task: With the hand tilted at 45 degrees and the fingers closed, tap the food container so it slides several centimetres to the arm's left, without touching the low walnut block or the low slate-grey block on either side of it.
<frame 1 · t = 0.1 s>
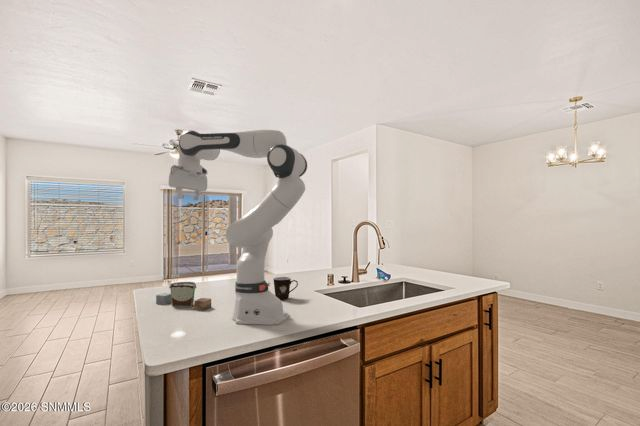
hand: (188, 199, 134), 48 cm above the counter, tool pointing down, fingers open, 8 cm apart
slate block: (164, 302, 145), on the counter
coffee mug: (285, 299, 151), on the counter
food container: (185, 304, 141), on the counter
walnut block: (202, 308, 135), on the counter
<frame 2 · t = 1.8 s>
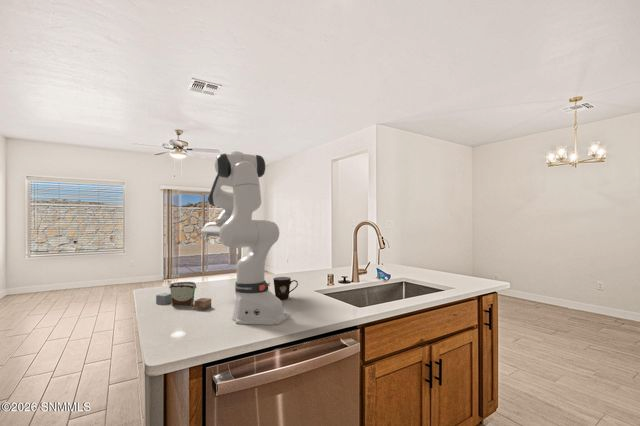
hand: (212, 241, 161), 28 cm above the counter, tool tilted 45°, fingers open, 8 cm apart
nothing on the counter moved.
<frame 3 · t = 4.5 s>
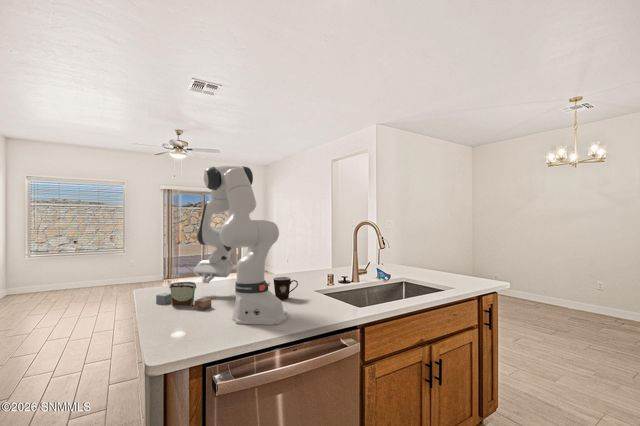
hand: (205, 282, 155), 7 cm above the counter, tool tilted 45°, fingers closed
nothing on the counter moved.
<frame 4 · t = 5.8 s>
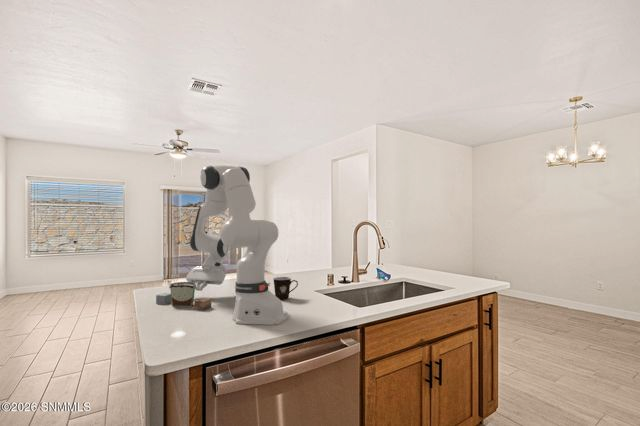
hand: (198, 290, 149), 5 cm above the counter, tool tilted 45°, fingers closed
nothing on the counter moved.
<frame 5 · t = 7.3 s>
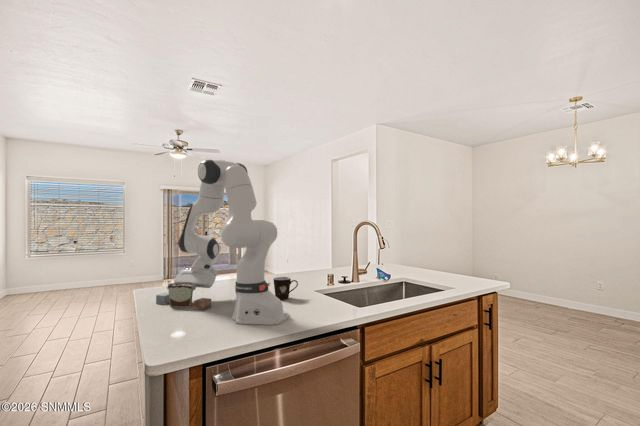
hand: (186, 293, 142), 5 cm above the counter, tool tilted 45°, fingers closed, pressing on food container
food container: (183, 305, 140), on the counter, touching gripper
everything else where it was.
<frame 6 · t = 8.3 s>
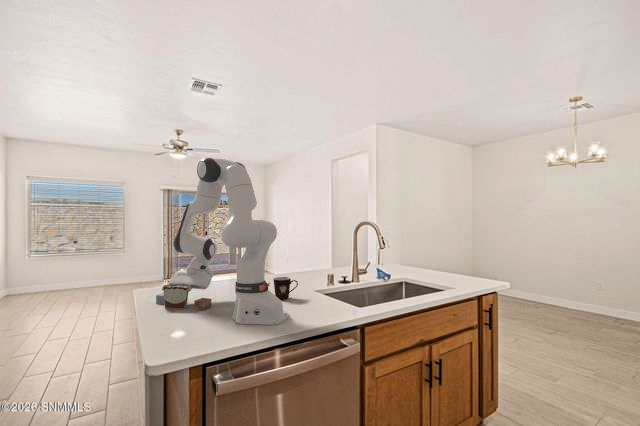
hand: (181, 295, 139), 5 cm above the counter, tool tilted 45°, fingers closed
food container: (178, 307, 137), on the counter, touching gripper
everything else where it was.
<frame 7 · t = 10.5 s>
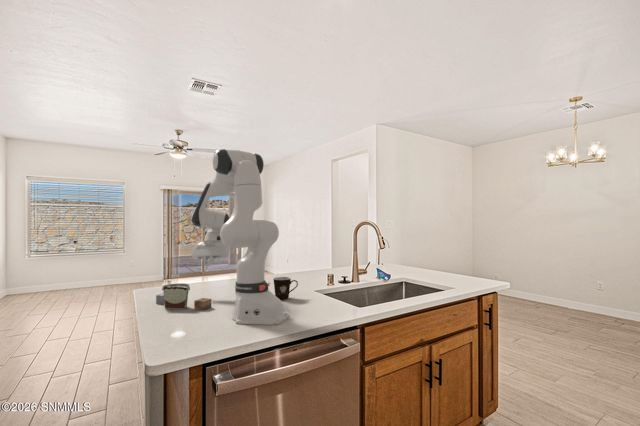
hand: (206, 265, 154), 16 cm above the counter, tool tilted 30°, fingers closed
food container: (178, 307, 137), on the counter
everything else where it was.
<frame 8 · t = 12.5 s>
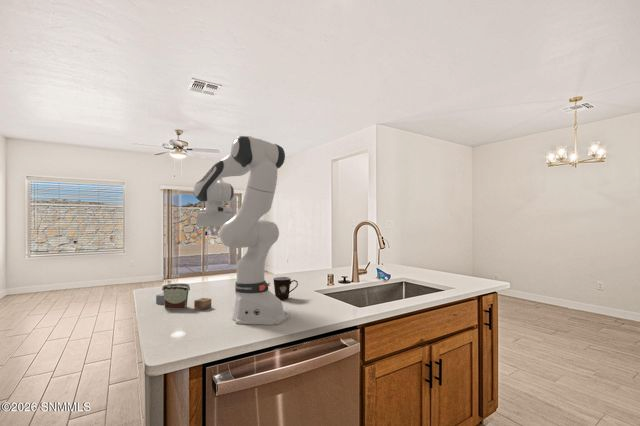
hand: (214, 235, 157), 31 cm above the counter, tool pointing down, fingers closed
nothing on the counter moved.
at the end: food container inside the target area (3.9 cm from its centre), on the counter; walnut block moved 0.2 cm from its start; slate block moved 0.2 cm from its start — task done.
